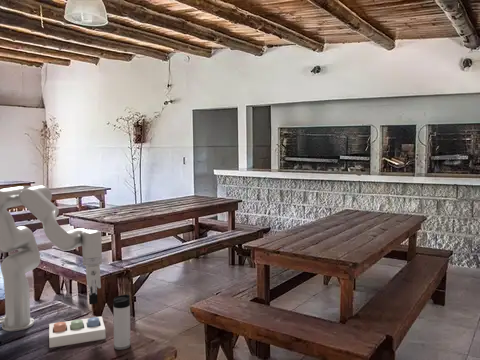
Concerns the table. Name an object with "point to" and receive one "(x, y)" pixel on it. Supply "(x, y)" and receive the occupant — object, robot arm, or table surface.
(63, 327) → the terracotta button
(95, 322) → the slate button
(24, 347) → the table surface
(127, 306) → the travel mug
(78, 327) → the sage button
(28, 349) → the table surface
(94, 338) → the button box
